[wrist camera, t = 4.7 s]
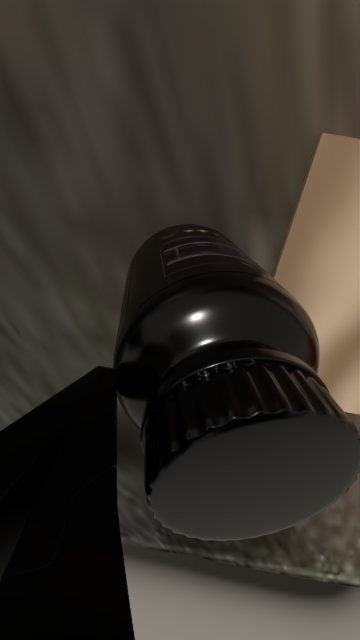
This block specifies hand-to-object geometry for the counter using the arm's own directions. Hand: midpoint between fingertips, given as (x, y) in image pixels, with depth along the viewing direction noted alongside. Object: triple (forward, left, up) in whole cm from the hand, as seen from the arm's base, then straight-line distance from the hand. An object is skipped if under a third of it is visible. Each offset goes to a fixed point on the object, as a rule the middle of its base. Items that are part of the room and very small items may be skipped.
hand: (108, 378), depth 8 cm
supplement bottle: (+2, 0, -9) cm, 9 cm away
